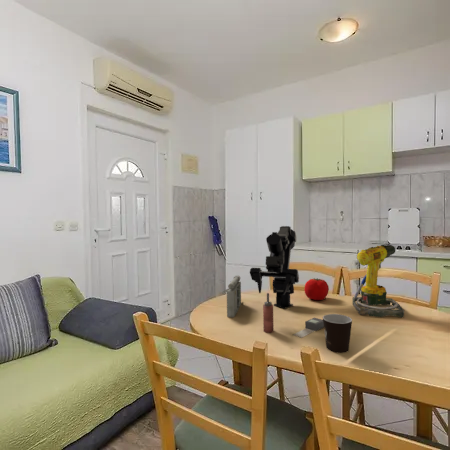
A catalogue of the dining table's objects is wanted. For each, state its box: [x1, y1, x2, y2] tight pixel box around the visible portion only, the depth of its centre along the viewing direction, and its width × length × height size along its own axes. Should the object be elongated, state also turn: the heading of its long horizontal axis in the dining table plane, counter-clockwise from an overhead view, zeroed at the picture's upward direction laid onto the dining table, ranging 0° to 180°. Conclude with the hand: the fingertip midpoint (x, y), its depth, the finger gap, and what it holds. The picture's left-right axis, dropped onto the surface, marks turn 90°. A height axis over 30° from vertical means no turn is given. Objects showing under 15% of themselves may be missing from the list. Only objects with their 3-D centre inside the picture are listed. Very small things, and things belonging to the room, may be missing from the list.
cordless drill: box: [351, 244, 405, 318], centre depth 135 cm, size 18×19×28 cm
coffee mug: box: [322, 313, 353, 354], centre depth 99 cm, size 12×9×10 cm
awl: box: [262, 292, 275, 334], centre depth 113 cm, size 4×4×14 cm
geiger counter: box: [221, 274, 242, 318], centre depth 143 cm, size 14×6×25 cm
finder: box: [304, 317, 324, 332], centre depth 115 cm, size 6×4×3 cm
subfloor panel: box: [292, 328, 315, 339], centre depth 116 cm, size 15×16×1 cm
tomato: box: [303, 278, 330, 301], centre depth 154 cm, size 12×12×10 cm
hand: (271, 293), depth 119 cm, fingers open, 9 cm apart
